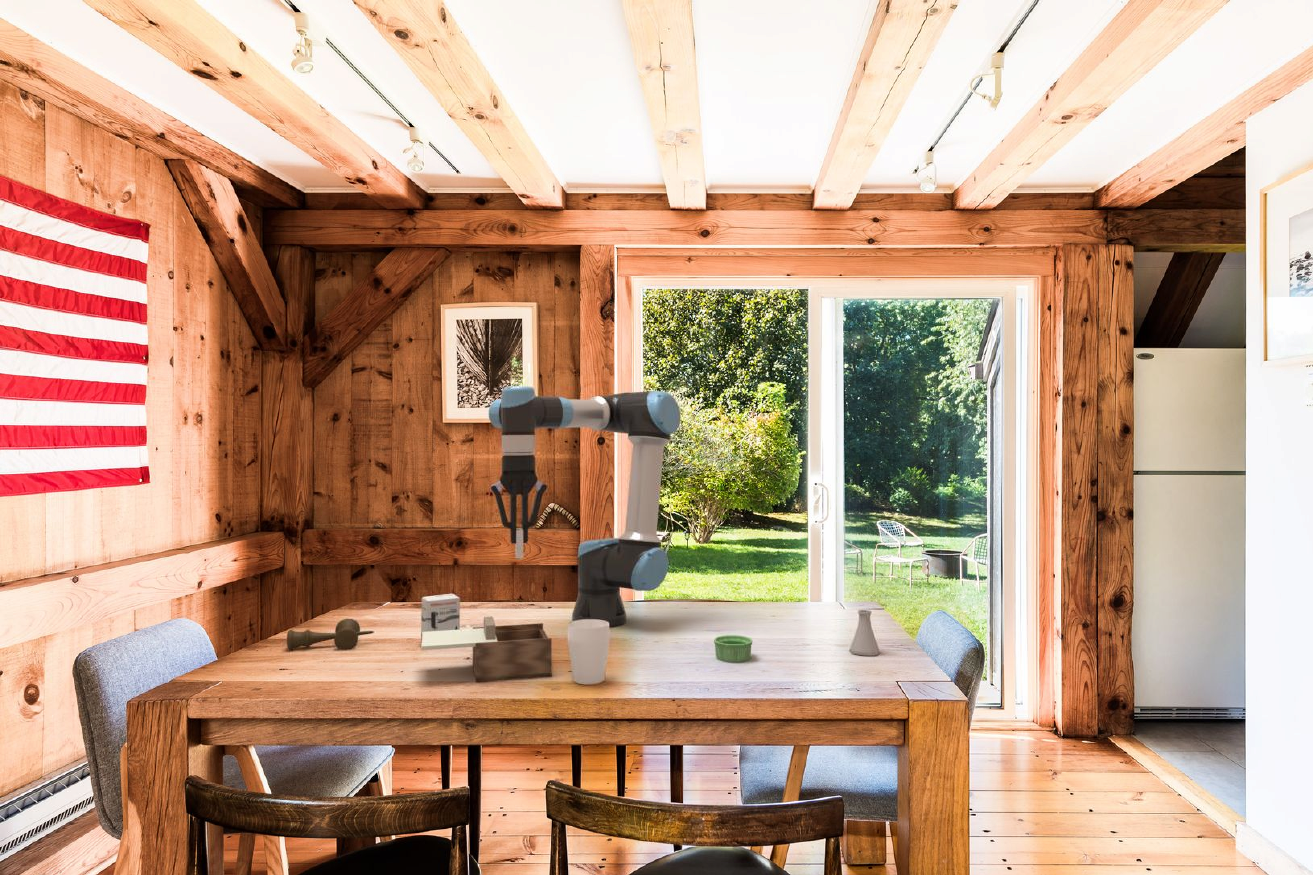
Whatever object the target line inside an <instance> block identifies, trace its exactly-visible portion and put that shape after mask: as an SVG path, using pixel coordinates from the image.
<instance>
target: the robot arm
mask: <svg viewBox="0 0 1313 875" xmlns="http://www.w3.org/2000/svg"><path fill="white" fill-rule="evenodd" d="M681 417H682V416H681V409H680V406H679V403H678V402H677V400H676V399H675V397H674V396H673V395H672V394H670V393H669V392H667V391H660V390H659V391H658V390H651V391H649V390H648V391H638V392H637V391H636V392H635V391H634V392H620V393H616V394H615V393H614V394H607V395H601V396H600V395H599V396H597V395H596V396H592V397H590V398H588V399H573V398H571V399H570V398H566V397H561V396H541V395H540V396H539V395H538V396H537V395H536V393H535V389H534V387H533V386H528V385H527V386H524V385H522V386H521V385H519V386H518V385H516V386H515V385H513V386H505V387H504V388H502V391H501V397H500V399H499V398H498V399H496V400H494V401H493V402H492V403H491V404H490V405H489V409H488V418H489V419H488V420H489V422H490V423H491V425H492V426H493V427H495V428H497V429H501V453H502V454H504V455H502V456H501V475H500V477H499V481H498V482H497V481H496V483H494V484H491V485H490V487H489V488H490V490H491V492H492V493H493V495H494V497H495V501H496V504H497V509H498V512H499V516H500V520H501V521H500V522H501V524H502V526H503V527H504V528H507V529H509V531H510V543H511V544H512V545H513V544H515V545H514V546H515V549H514V550H515V551H514V552H515V559H524V544H528V542H529V529H530V528H531V527H535V526H536V525H537V521H538V517H539V516H538V515H539V513H540V512H539V511H540V508H541V503H542V500H543V495H544V494H545V492H546V491H547V489H548V485H546V484H545V483H542V482H541V481H540V480H538V476H537V474H536V473H537V472H536V456H535V454H533V453H536V429H556V430H558V429H564V428H567V429H569V428H589V429H591V430H592V431H596V432H597V431H599V432H600V431H604V432H611V433H618V434H627V439H628V441H629V442H630V444H632V448H631V449H632V450H631V458H630V459H631V461H630V473H629V482H628V492H627V494H628V495H627V506H626V515H625V516H626V517H625V527H624V528H625V530H624V531H623V532H624V533H622V534H621V535H620V536H619V537H611V538H610V537H609V538H601V539H591V540H585V541H582V542H581V543H580V544H579V546H578V554H577V577H578V578H577V579H578V580H577V582H578V586H577V588H578V589H577V590H578V593H577V598H576V601H575V604H574V607H573V609H572V610H573V611H572V614H571V622H572V621H576V620H584V619H597V620H604V621H607V622H609V628H611V627H617V626H620V625H624V624H626V622H627V611H626V609H625V605H624V602H623V600H622V595H621V589H627V590H628V589H629V590H635V591H636V592H639V591H640V592H643V591H644V592H651V591H655V590H656V589H658V587H661V586H660V585H661V584H662V583H663V582H664V581H665V579H666V577H667V575H668V574H667V573H668V570H669V565H670V564H669V557H668V554H667V552H666V550H664V549H663V548H662V541H661V539H660V538H659V536H658V535H657V531H658V521H659V520H658V519H659V508H660V496H661V483H662V473H663V472H662V471H663V459H664V448H665V447H666V446H667V445H668V444H669V443H670V442H671V435H672V434H675V433H676V432H677V431H678V429H679V427H680V425H681V421H682V420H681ZM502 487H503V488H504V489H505V491H506V492H507V493H508V494H509V521H508V517H507V512H506V509H505V504H504V500H503V497H502V494H501V492H502V491H503V489H502ZM534 487H535V490H536V492H535V496H534V501H533V504H532V505H533V506H532V510H531V513H530V517H529V494H530V492H531V491H532V490H533V488H534ZM518 495H519V496H520V498H521V499H520V500H521V504H520V505H521V507H520V508H521V512H520V513H521V527H520V528H518V526H517V525H518V524H517V515H518V514H517V510H518V509H517V496H518Z"/></svg>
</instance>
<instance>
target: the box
mask: <svg viewBox="0 0 1313 875" xmlns="http://www.w3.org/2000/svg"><path fill="white" fill-rule="evenodd" d="M477 628H484V626H475V627H474V626H473V627H472V629H477ZM495 634H496V638H497V641H496V642H481V643H476V647H472V667H473V675H474V680H475V683H486V682H487V683H488V682H498V680H499V681H509V680H522V679H535V678H536V679H537V678H547V677H549V678H550V677H552V674H553V672H552V670H553V669H552V663H553V662H552V648H553V647H552V646H553V645H552V642H553V641H552V637H548V635H547V633H546V632H545V630H544V623H543V622H542V623H539V622H538V623H525V624H509V625H507V624H505V625H495Z"/></svg>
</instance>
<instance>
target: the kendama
mask: <svg viewBox="0 0 1313 875" xmlns="http://www.w3.org/2000/svg"><path fill="white" fill-rule="evenodd" d="M374 633H375V632H374V630H363V631H361V626H360V623H359V622H358V621H357V620H355V619H354V618H345V619H342V620H340V621H339V622H338V623H337V624H336V626H335V630H334V632H317V631H316V632H315V631H311V630H310V629H306V630H304V631H295V630H292V629H289V630H287V634H286V647H287V650H288V651H290V652H292V651H293V650H294V649H296V648H300V647H304V648H310V647H311V646H312V645H314V644H317V643H318V644H319V643H321V642H326V641H330V640H333V641H334V645H335V647H336V648H337V649H338V650H341V651H347V650H348V651H349V650H352V649H354V648H355V647H356V646H357V644H358V642H359V641H358V640H359V636H366V635H371V634H374Z"/></svg>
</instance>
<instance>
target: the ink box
mask: <svg viewBox="0 0 1313 875" xmlns="http://www.w3.org/2000/svg"><path fill="white" fill-rule="evenodd" d="M460 601H461V598H460V597H459V596H457V595H456V594H454V593H447V594H438V595H430V596H429V595H428V596H423V597H421V612H420V613H421V615H420V618H421V621H420V622H421V623H420V644H421V645H422V632H428V631H445V630H461V629H460V628H461V624H460V621H461V620H460V617H461V614H460V612H461V607H460V606H461V602H460Z"/></svg>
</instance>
